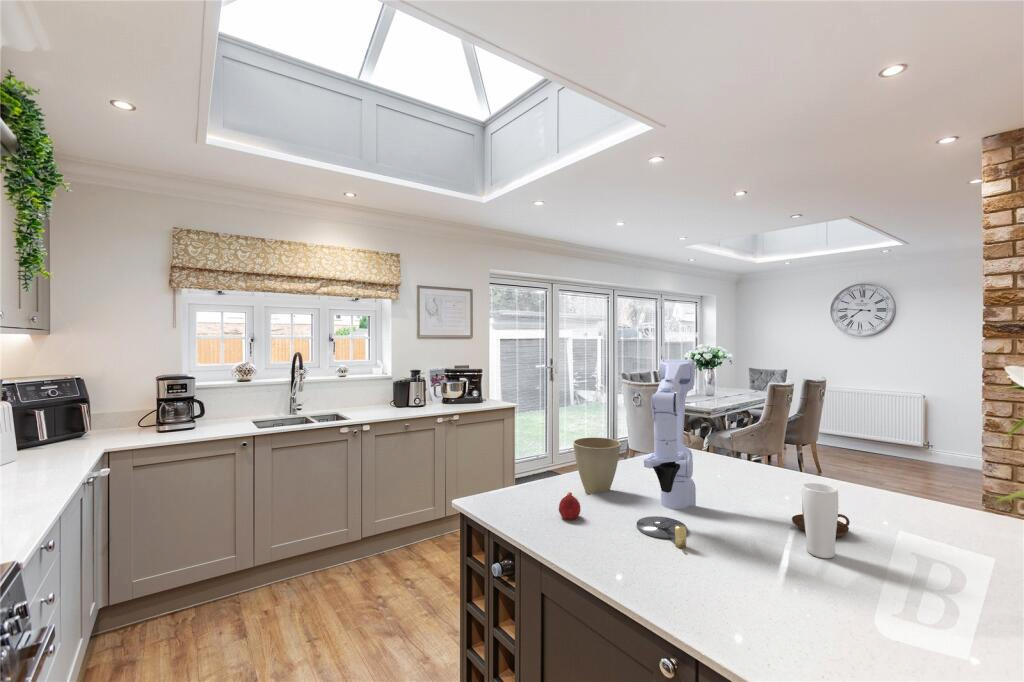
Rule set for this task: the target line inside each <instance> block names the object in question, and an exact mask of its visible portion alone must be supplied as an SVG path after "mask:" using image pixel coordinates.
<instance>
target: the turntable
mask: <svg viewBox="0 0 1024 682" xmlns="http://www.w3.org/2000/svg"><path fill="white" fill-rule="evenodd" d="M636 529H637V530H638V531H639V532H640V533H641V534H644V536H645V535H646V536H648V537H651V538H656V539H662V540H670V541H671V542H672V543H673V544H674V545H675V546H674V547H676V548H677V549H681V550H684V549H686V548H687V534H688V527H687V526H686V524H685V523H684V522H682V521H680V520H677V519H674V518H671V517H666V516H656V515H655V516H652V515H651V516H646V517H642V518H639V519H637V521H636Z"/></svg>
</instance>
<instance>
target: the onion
mask: <svg viewBox="0 0 1024 682" xmlns="http://www.w3.org/2000/svg"><path fill="white" fill-rule="evenodd" d="M581 510H582V508H581V504H580V502H579V500H578V499H577V498H576V497H575V496H574V495H573V493H572V492H571V491H569V492H567V494H566V495H565V496H564V497H563V498H561V500H560V502H559V504H558V513H559V514H560V517H561V518H562V519H563V520H567V521H574V520H576V519H577V518H578V517H579V515H581Z"/></svg>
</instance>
